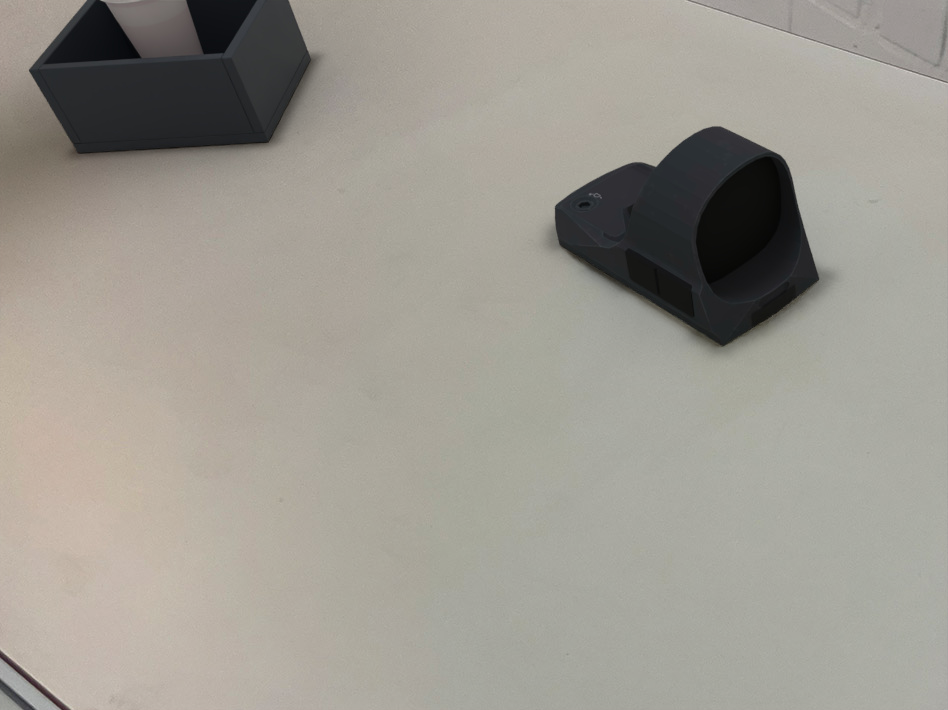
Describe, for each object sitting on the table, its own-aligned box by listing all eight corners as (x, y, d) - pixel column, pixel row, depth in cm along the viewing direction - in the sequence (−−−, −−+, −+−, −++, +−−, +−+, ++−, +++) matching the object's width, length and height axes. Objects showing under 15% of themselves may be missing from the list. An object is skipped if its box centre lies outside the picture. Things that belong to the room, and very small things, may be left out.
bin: (77, 153, 86) (27, 70, 80) (137, 69, 94) (95, -12, 89) (268, 142, 85) (231, 57, 80) (311, 58, 93) (280, -24, 88)
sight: (639, 180, 78) (618, 43, 71) (822, 280, 70) (821, 137, 62) (540, 237, 75) (506, 100, 67) (721, 351, 66) (706, 208, 58)
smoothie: (245, 90, 89) (163, -96, 78) (175, 122, 86) (80, -66, 75) (207, 67, 92) (123, -115, 81) (138, 98, 89) (41, -86, 78)
